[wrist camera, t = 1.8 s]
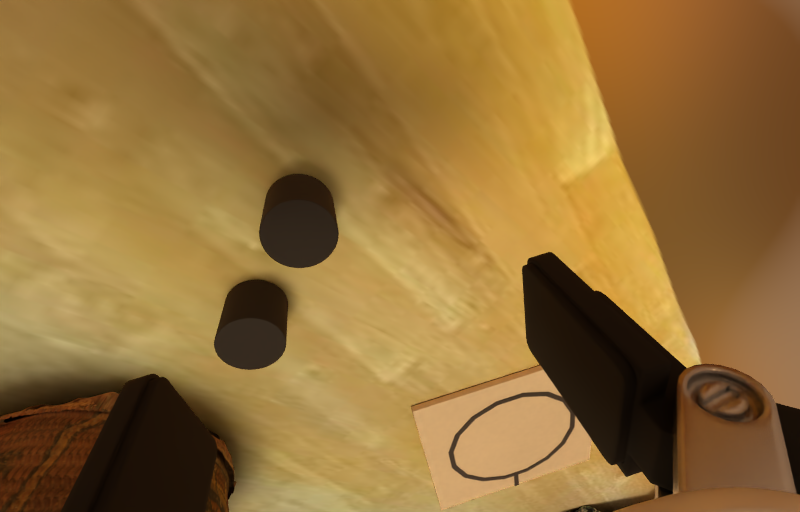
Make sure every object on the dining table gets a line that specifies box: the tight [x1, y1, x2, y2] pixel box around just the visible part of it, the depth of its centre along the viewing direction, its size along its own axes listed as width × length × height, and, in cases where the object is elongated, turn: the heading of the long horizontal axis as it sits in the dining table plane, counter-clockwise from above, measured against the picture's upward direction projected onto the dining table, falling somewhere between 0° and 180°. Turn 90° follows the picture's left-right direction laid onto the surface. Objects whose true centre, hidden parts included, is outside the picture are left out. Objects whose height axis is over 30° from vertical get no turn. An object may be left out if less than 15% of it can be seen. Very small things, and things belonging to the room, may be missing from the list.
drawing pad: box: [411, 365, 592, 510], centre depth 41 cm, size 18×18×1 cm
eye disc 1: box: [214, 280, 288, 370], centre depth 25 cm, size 4×4×4 cm
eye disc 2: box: [259, 174, 338, 268], centre depth 22 cm, size 4×4×4 cm
